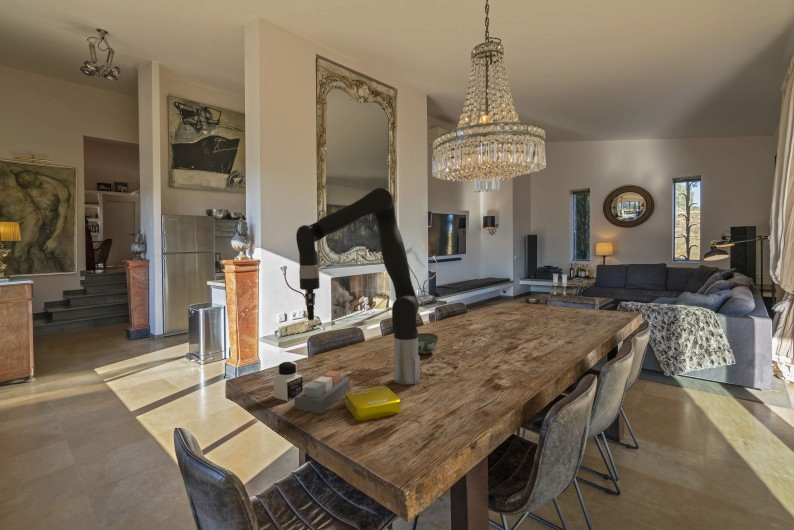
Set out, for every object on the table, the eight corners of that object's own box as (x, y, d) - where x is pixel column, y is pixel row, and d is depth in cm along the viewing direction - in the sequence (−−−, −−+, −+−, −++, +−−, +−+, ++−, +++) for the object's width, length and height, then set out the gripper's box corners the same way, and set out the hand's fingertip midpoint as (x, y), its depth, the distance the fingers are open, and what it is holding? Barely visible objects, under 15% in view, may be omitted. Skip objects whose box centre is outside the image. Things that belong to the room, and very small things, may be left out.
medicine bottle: (287, 402, 132) (286, 367, 131) (273, 397, 135) (272, 364, 134) (303, 394, 138) (302, 361, 137) (289, 390, 141) (288, 358, 141)
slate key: (323, 393, 129) (323, 383, 129) (316, 399, 125) (316, 388, 125) (312, 392, 131) (311, 382, 130) (305, 397, 126) (304, 387, 126)
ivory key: (332, 387, 135) (332, 377, 135) (326, 392, 131) (325, 382, 130) (321, 386, 136) (321, 376, 136) (314, 390, 132) (314, 380, 132)
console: (349, 389, 141) (349, 379, 141) (321, 413, 123) (321, 400, 122) (325, 386, 145) (325, 376, 145) (294, 408, 126) (294, 397, 126)
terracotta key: (340, 381, 140) (340, 372, 140) (334, 385, 136) (334, 376, 136) (329, 380, 142) (329, 370, 142) (323, 384, 138) (323, 374, 138)
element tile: (357, 423, 117) (357, 407, 116) (344, 404, 130) (343, 390, 130) (402, 413, 123) (402, 399, 122) (385, 396, 136) (385, 383, 136)
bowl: (443, 351, 189) (443, 335, 188) (430, 358, 178) (430, 341, 177) (418, 347, 196) (418, 331, 196) (405, 354, 185) (404, 337, 184)
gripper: (319, 277, 144) (321, 320, 145) (318, 274, 158) (320, 314, 159) (298, 278, 143) (300, 322, 144) (300, 275, 157) (301, 315, 158)
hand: (311, 317), depth 152 cm, fingers open, 8 cm apart
